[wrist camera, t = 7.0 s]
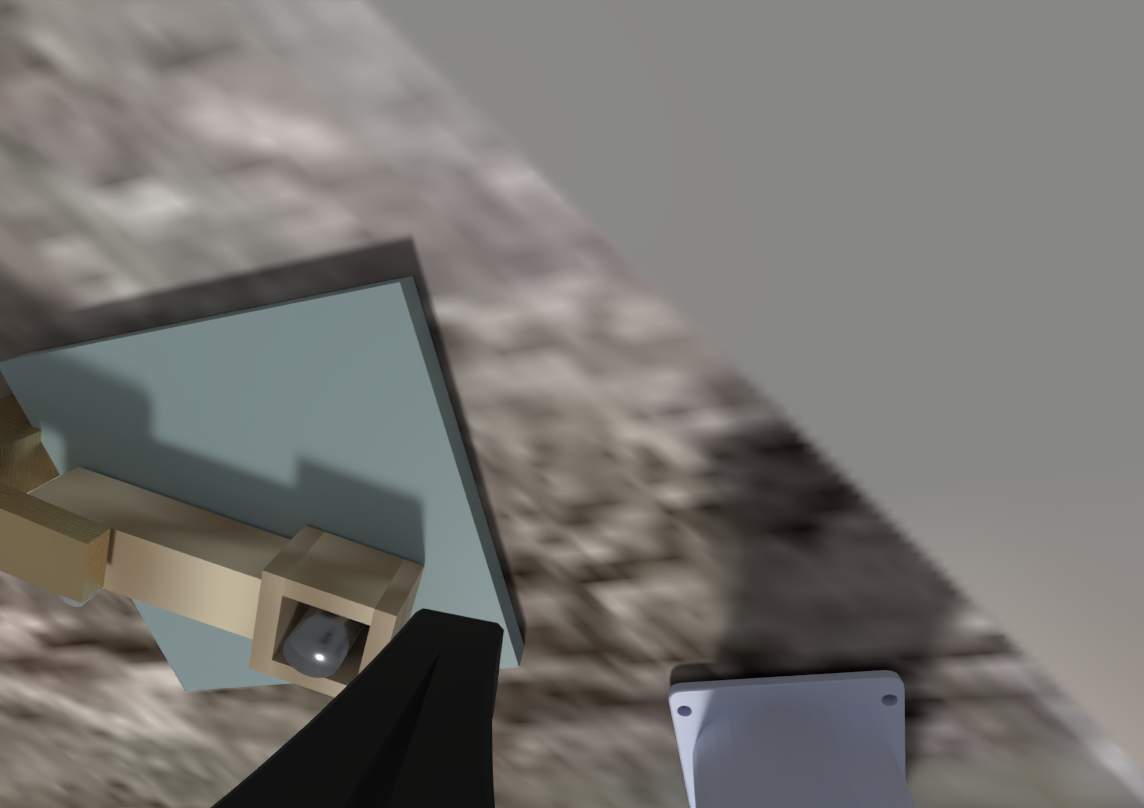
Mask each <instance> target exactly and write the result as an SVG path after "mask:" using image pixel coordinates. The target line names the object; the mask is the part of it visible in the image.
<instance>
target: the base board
mask: <svg viewBox="0 0 1144 808" xmlns="http://www.w3.org/2000/svg"><path fill="white" fill-rule="evenodd" d="M0 371H1V373H2V375H3V377H4V378H5V380H6V382H7V384H8V385H9V387H10V389H11V390H12V392H13V394H14V396H15V397H16V399H17V401H18V403H19V404H20V406H21V408H22V410H23V411H24V413H25V415H26V416H27V418H28V420H29V422H30V423H31V425H32V426H33V427H35V428H38V429H40V430H42V431H41V442H42V444H43V446H44V448H45V449H46V451H47V453H48V455H49V456H50V458H51V460H52V461H53V463H54V465H55V467H56V468H57V470H58V472H59V474H60V475H61V476H62V475H64V474H66V473H68V472H70V471H71V470H73V469H75V468H77V467H81V468H84V469H87V470H90V471H93V472H96V473H99V474H101V475H104V476H107V477H110V478H113V479H116V480H119V481H122V482H125V483H128V484H131V485H133V486H136V487H139V488H142V489H145V490H148V491H151V492H154V493H157V494H160V495H162V496H165V497H168V498H171V499H174V500H177V501H180V502H183V503H186V504H189V505H192V506H194V507H197V508H200V509H203V510H206V511H209V512H212V513H215V514H218V515H221V516H224V517H226V518H229V519H232V520H235V521H238V522H241V523H244V524H247V525H250V526H253V527H255V528H258V529H261V530H264V531H267V532H270V533H273V534H276V535H279V536H282V537H285V538H287V539H290V540H291V539H292V538H293V537H294V536H295V535H296V534H297V533H298V532H299V531H300V530H301V529H302V528H303V527H304V525H307V526H310V527H312V528H315V529H318V530H321V531H324V532H327V533H330V534H333V535H336V536H339V537H341V538H344V539H347V540H350V541H353V542H356V543H359V544H362V545H365V546H368V547H370V548H373V549H376V550H379V551H382V552H385V553H388V554H391V555H394V556H397V557H399V558H402V559H405V560H408V561H411V562H414V563H417V564H420V565H423V566H424V569H423V572H422V576H421V579H420V583H419V586H418V590H417V593H416V597H415V601H414V604H413V608H412V611H411V615H410V618H411V617H412V616H413V615H414V614H415V612H417V611H419V610H420V609H422V608H425V609H430V610H435V611H440V612H445V613H450V614H455V615H460V616H465V617H470V618H475V619H481V620H486V621H491V622H496V623H499V625H500V626H501V627H502V628H503V629H504V635H503V643H502V651H501V659H500V667H499V669H503V668H517V667H519V665H520V662H521V658H522V654H523V650H524V644H523V641H522V637H521V634H520V631H519V627H518V624H517V621H516V617H515V614H514V611H513V607H512V604H511V601H510V597H509V594H508V591H507V587H506V584H505V581H504V577H503V574H502V571H501V567H500V564H499V561H498V557H497V554H496V551H495V547H494V544H493V541H492V537H491V534H490V531H489V527H488V524H487V521H486V517H485V514H484V511H483V507H482V504H481V501H480V498H479V494H478V491H477V488H476V484H475V481H474V478H473V474H472V471H471V468H470V464H469V461H468V458H467V454H466V451H465V448H464V444H463V441H462V438H461V434H460V431H459V428H458V424H457V421H456V418H455V414H454V411H453V408H452V404H451V401H450V398H449V394H448V391H447V388H446V384H445V381H444V378H443V374H442V371H441V368H440V364H439V361H438V358H437V354H436V351H435V348H434V345H433V341H432V338H431V335H430V331H429V328H428V325H427V321H426V318H425V315H424V311H423V308H422V305H421V301H420V298H419V295H418V291H417V288H416V285H415V281H414V278H413V276H408V277H403V278H398V279H393V280H388V281H383V282H378V283H373V284H368V285H363V286H358V287H353V288H349V289H344V290H339V291H334V292H329V293H324V294H319V295H314V296H309V297H304V298H299V299H294V300H289V301H284V302H279V303H274V304H269V305H264V306H259V307H254V308H249V309H244V310H239V311H234V312H229V313H224V314H220V315H215V316H210V317H205V318H200V319H195V320H190V321H185V322H180V323H175V324H170V325H165V326H160V327H155V328H150V329H145V330H140V331H135V332H130V333H125V334H120V335H115V336H110V337H105V338H100V339H95V340H90V341H86V342H81V343H76V344H71V345H66V346H61V347H56V348H51V349H46V350H41V351H36V352H31V353H26V354H23V355H19V356H16V357H13V358H10V359H7V360H4V361H1V362H0ZM102 589H103V588H101V589H99V590H98V591H97V592H95V593H94V594H93V595H92V596H90V597H89V598H88V599H87V600H85V601H84V602H83V603H79V602H77V601H74V600H72V599H69V598H67V597H64V596H62V595H59V594H57V595H58V596H59V598H60V599H61V600H62V601H63V602H65V603H66V604H68V605H70V606H74V607H79V606H82V605H84V604H85V603H86V602H87V601H89V600H90V599H91V598H92V597H94V596H95V595H96V594H97V593H99V592H100V591H101V590H102ZM132 600H133V602H134V603H135V605H136V607H137V609H138V610H139V612H140V614H141V616H142V617H143V619H144V621H145V622H146V624H147V626H148V628H149V629H150V631H151V633H152V635H153V636H154V638H155V640H156V641H157V643H158V645H159V647H160V648H161V650H162V652H163V654H164V655H165V657H166V659H167V661H168V662H169V664H170V666H171V667H172V669H173V671H174V673H175V674H176V676H177V678H178V680H179V681H180V683H181V685H182V687H183V688H184V690H185V691H189V690H203V689H217V688H231V687H246V686H260V685H274V684H289V683H291V682H288V681H285V680H282V679H279V678H277V677H274V676H271V675H268V674H265V673H262V672H259V671H256V670H253V669H250V668H249V663H250V656H251V649H252V642H253V639H250V638H247V637H244V636H241V635H238V634H235V633H232V632H229V631H226V630H223V629H221V628H218V627H215V626H212V625H209V624H206V623H203V622H200V621H197V620H194V619H191V618H188V617H185V616H182V615H179V614H176V613H174V612H171V611H168V610H165V609H162V608H159V607H156V606H153V605H150V604H147V603H144V602H141V601H138V600H135V599H132ZM410 618H409V619H410ZM364 627H367V628H370V625H367V624H365V625H364Z"/></svg>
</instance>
